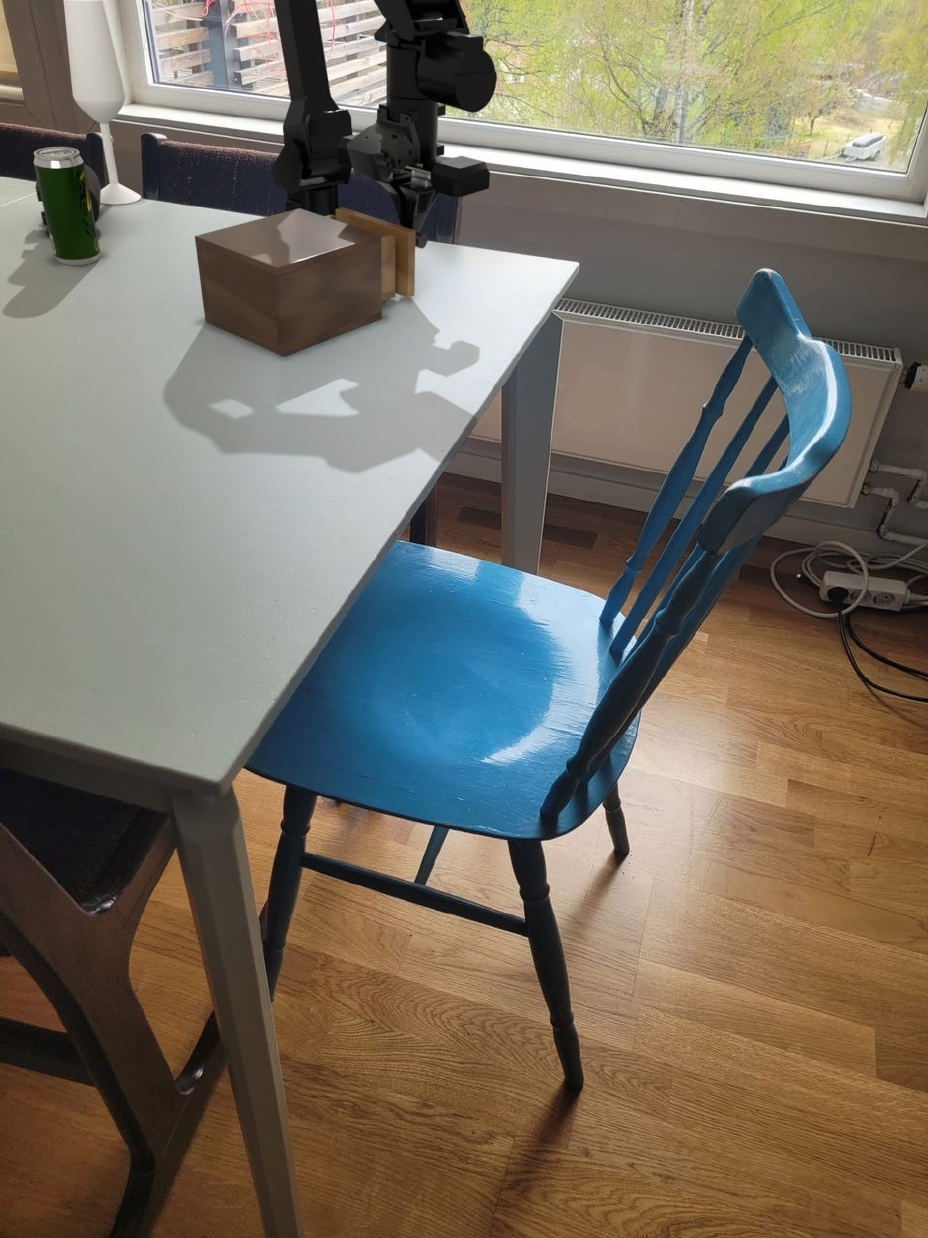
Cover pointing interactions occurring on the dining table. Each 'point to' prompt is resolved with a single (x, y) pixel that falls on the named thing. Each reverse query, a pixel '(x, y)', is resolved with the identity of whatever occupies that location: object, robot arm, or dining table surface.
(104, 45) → the champagne flute
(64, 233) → the beer can
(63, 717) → the dining table surface
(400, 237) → the drawer
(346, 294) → the cabinet
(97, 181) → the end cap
